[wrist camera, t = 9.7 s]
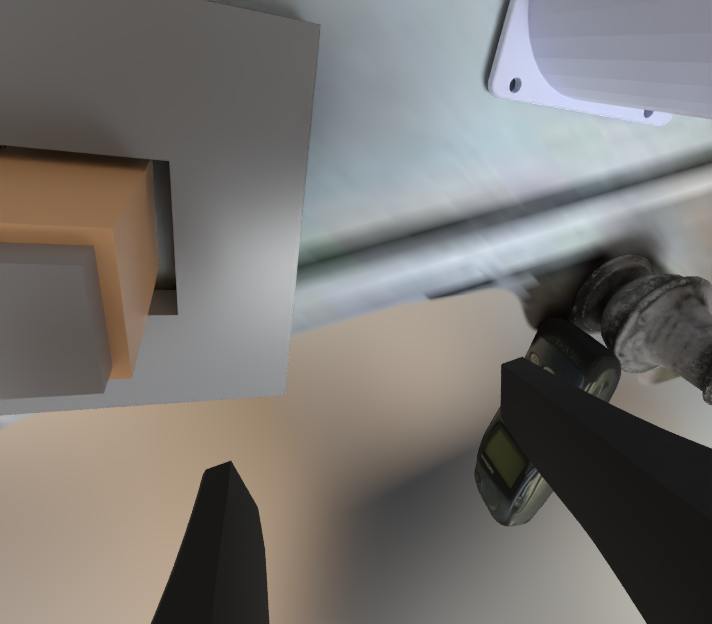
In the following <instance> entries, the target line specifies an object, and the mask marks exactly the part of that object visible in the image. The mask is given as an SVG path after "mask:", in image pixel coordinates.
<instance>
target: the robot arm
mask: <svg viewBox="0 0 712 624" xmlns="http://www.w3.org/2000/svg"><path fill="white" fill-rule="evenodd" d="M513 79H515V81H516V83H515V87H514V89H513V90H512V91H510V89H509V85H510V82H511V80H513ZM488 90H489V92H490V94H491V95H492V96H495V97H499V98H504V99H510V100H515V101H521V102H526V103H532V104H537V105H543V106H548V107H554V108H559V109H565V110H570V111H576V112H581V113H587V114H592V115H598V116H603V117H609V118H614V119H620V120H626V121H631V122H637V123H642V124H648V125H653V126H664V125H665V124H667V123H668V122H669V121H670V120H671V118H672V116H673V114H679V115H686V116H693V117H700V118H707V119H712V0H510V3H509V6H508V10H507V14H506V17H505V21H504V25H503V29H502V32H501V36H500V40H499V43H498V47H497V51H496V54H495V58H494V62H493V65H492V69H491V73H490V76H489V80H488ZM644 110H646V112H645V113H644ZM501 418H502V420H503V421H504V423H505V425H506V426H507V428H508V430H509V431H510V433H511V435H512V436H513V438H514V439H515V441H516V443H517V444H518V446H519V447H520V449H521V450H522V452H523V453H524V454H525V456H526V457H527V458H528V459H529V461H530V462H531V463H532V464H533V466H534V467H535V468H536V469H537V471H538V472H539V473H540V475H541V476H542V477H543V478H544V480H545V481H546V482H547V483H548V485H549V486H550V487H551V488H552V489H553V491H554V492H555V493H556V494H557V496H558V497H559V498H560V499H561V501H562V502H563V503H564V504H565V506H566V507H567V508H568V509H569V511H570V512H571V513H572V514H573V516H574V517H575V518H576V519H577V521H578V522H579V523H580V524H581V526H582V527H583V528H584V530H585V531H586V532H587V534H588V535H589V536H590V538H591V539H592V541H593V542H594V543H595V545H596V546H597V548H598V549H599V551H600V552H601V554H602V555H603V557H604V558H605V560H606V561H607V563H608V564H609V566H610V567H611V569H612V570H613V572H614V573H615V575H616V576H617V578H618V579H619V581H620V582H621V584H622V586H623V587H624V588H625V590H626V592H627V593H628V595H629V596H630V598H631V600H632V601H633V603H634V604H635V606H636V607H637V609H638V611H639V612H640V614H641V615H642V617H643V618H644V620H645V621H646V623H647V624H712V449H711V448H709V447H706V446H704V445H701V444H699V443H696V442H694V441H691V440H688V439H686V438H684V437H681V436H679V435H676V434H674V433H672V432H669V431H667V430H665V429H662V428H660V427H658V426H656V425H653V424H651V423H649V422H647V421H644V420H643V419H640V418H638V417H636V416H634V415H632V414H630V413H627V412H626V411H624V410H621V409H619V408H617V407H615V406H613V405H611V404H609V403H607V402H605V401H603V400H602V399H600V398H598V397H596V396H594V395H592V394H590V393H588V392H586V391H584V390H582V389H580V388H579V387H577V386H575V385H573V384H571V383H569V382H567V381H566V380H564V379H562V378H560V377H558V376H556V375H555V374H553V373H551V372H549V371H547V370H546V369H544V368H542V367H540V366H538V365H537V364H535V363H533V362H531V361H529V360H527V359H525V358H523V357H521V358H517V359H515V360H512V361H509V362H506V363H503V364H502V365H501ZM151 624H269V610H268V592H267V574H266V558H265V547H264V541H263V534H262V528H261V523H260V517H259V511H258V507H257V505H256V503H255V502H254V500H253V498H252V496H251V495H250V493H249V491H248V489H247V488H246V486H245V484H244V482H243V481H242V479H241V477H240V475H239V474H238V472H237V470H236V469H235V467H234V465H233V463H232V461H229V462H226V463H224V464H220V465H218V466H215V467H212V468H209V469H207V470H205V472H204V474H203V476H202V480H201V483H200V488H199V491H198V494H197V497H196V501H195V504H194V507H193V510H192V514H191V517H190V520H189V523H188V526H187V529H186V532H185V535H184V538H183V541H182V544H181V547H180V549H179V552H178V555H177V558H176V561H175V564H174V567H173V569H172V572H171V575H170V577H169V580H168V582H167V585H166V587H165V590H164V592H163V595H162V597H161V600H160V602H159V605H158V608H157V610H156V612H155V615H154V617H153V620H152V622H151Z"/></svg>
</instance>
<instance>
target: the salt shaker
mask: <svg viewBox="0 0 712 624" xmlns="http://www.w3.org/2000/svg"><path fill="white" fill-rule="evenodd" d="M711 314H712V285H711V284H710V282H709V281H707V280H705V279H703V278H700V277H698V276H691V277H682V276H680V275H674V274H653V269H652V265H651V263H650V262H649V261H648V260H647V259H646V258H645V257H643V256H640V255H638V254H625V255H622V256H618V257H615V258H614V259H612V260H610V261H608V262H606V263H604V264H603V265H602V266H601V267H599V268H598V269H597V270H595V271H594V272H593V273H592V274H591V276H590V277H589V278H588V279H587V280H586V281H585V282H584V284H583V285H582V287H581V288H580V290H579V292H578V294H577V296H576V298H575V301H574V304H573V309H572V317H573V322H574V324H575V325H576V326H578V327H579V328H580V329H582V330H583V331H585V332H586V333H587V334H601V336H602V338H603V340H604V342H605V344H606V346H607V348H608V349H609V350H610V351H611V352H612V353H613V354H614V355H616V356H617V358H618V359H619V360H620V363H621V369H622V370H624V371H625V372H629V373H644V372H648V371H651V370H654V369H657V368H659V367H664V368H666V369H669V370H671V371H673V372H675V373H677V374H678V375H680V376H681V377H683V378H684V379H686V380H687V381H689V382H690V383H692V384H693V385H694V386H696V387H697V388H699V389H700V390H701V391H703V394H702V395H703V399H704V401H705V402H706V403H708V404H709V405H712V315H711Z"/></svg>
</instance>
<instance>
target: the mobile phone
mask: <svg viewBox="0 0 712 624" xmlns="http://www.w3.org/2000/svg"><path fill="white" fill-rule="evenodd" d="M525 359H527V360H529V361H531V362H533V363H535V364H537V365H538V366H540V367H542V368H544V369H546V370H547V371H549V372H551V373H553V374H555V375H556V376H558V377H560V378H562V379H564V380H566V381H567V382H569V383H571V384H573V385H575V386H577V387H579V388H580V389H582V390H584V391H586V392H588V393H590V394H592V395H594V396H596V397H598V398H600V399H602V400H603V401H605V402H607V403H609V401H610V399H611V397H612V395H613V393H614V391H615V389H616V387H617V385H618V382H619V379H620V376H621V363H620V360H619V359H618V358H617V356H616V355H614V354H613V353H612V352H611V351H610V350H609V349H607V348H606V347H605V346H603V345H602V344H601V343H599V342H598V341H596V340H595V339H594V338H593V337H591V336H590V335H589V334H587V333H586V332H585V331H583V330H582V329H580V328H579V327H578V326H576V325H575V324H573V323H572V322H570V321H568V320H564V319H560V318H548V319H546V320H545V321H544V322H543V323H542V324H541V326H540V327H539V329H538V331H537V333H536V335H535V337H534V339H533V342H532V344H531V346H530V348H529V350H528V352H527V354H526V356H525ZM475 480H476V484H477V487H478V491H479V493H480V495H481V497H482V499H483V501H484V502H485V504H486V506H487V508H488V510H489V511H490V513H491V515H492V516H493V518H494V519H495V520H496V521H497V522H498V523H500V524H501V525H504V526H517V525H522V524H525V523H527V522H529V521H530V520H531V519H532V518H533V516H534V515H535V514H536V513H537V511H538V510H539V509H540V508H541V507H542V506H543V504H544V503H545V502H546V500H547V499H548V498H549V496H550V495H551V494H552V492H553V489H552V488H551V487H550V486H549V485H548V483H547V482H546V481H545V480H544V478H543V477H542V476H541V475H540V473H539V472H538V471H537V469H536V468H535V467H534V466H533V464H532V463H531V462H530V461H529V459H528V458H527V457H526V456H525V454H524V453H523V452H522V450H521V449H520V447H519V446H518V444H517V443H516V441H515V439H514V438H513V436H512V435H511V433H510V431H509V430H508V428H507V426H506V425H505V423H504V421H503V420H502V418H501V406H500V408H499V410H498V412H497V413H496V415H495V416H494V418H493V420H492V421H491V423H490V425H489V427H488V428H487V430H486V432H485V434H484V436H483V439H482V442H481V445H480V447H479V450H478V455H477V463H476V468H475Z"/></svg>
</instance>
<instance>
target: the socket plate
mask: <svg viewBox="0 0 712 624" xmlns="http://www.w3.org/2000/svg"><path fill="white" fill-rule="evenodd" d="M319 34H320V24H315V23H310V22H306V21H301V20H296V19H291V18H287V17H282V16H277V15H273V14H268V13H263V12H258V11H254V10H249V9H244V8H240V7H235V6H230V5H225V4H221V3H216V2H211V1H207V0H0V145H7V146H17V147H28V148H38V149H48V150H59V151H69V152H80V153H90V154H100V155H111V156H121V157H131V158H142V159H152V160H163V161H169V166H170V183H171V200H172V218H173V235H174V253H175V270H176V287H177V290H154V291H153V295H152V299H151V303H150V307H149V311H148V315H147V320H146V324H145V328H144V332H143V336H142V340H141V344H140V348H139V352H138V356H137V361H136V365H135V369H134V373H133V377H132V378H130V379H111V380H108V383H107V386H106V389H105V392H104V394H87V395H70V396H54V397H37V398H21V399H4V400H0V415H11V414H25V413H40V412H53V411H68V410H82V409H96V408H110V407H125V406H138V405H151V404H152V405H153V404H167V403H180V402H196V401H208V400H209V401H210V400H223V399H238V398H252V397H266V396H279V395H280V396H281V395H285V390H286V379H287V369H288V358H289V348H290V338H291V327H292V317H293V306H294V296H295V285H296V275H297V264H298V254H299V243H300V233H301V222H302V212H303V202H304V191H305V181H306V170H307V160H308V149H309V139H310V128H311V118H312V107H313V97H314V87H315V76H316V66H317V55H318V45H319Z"/></svg>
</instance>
